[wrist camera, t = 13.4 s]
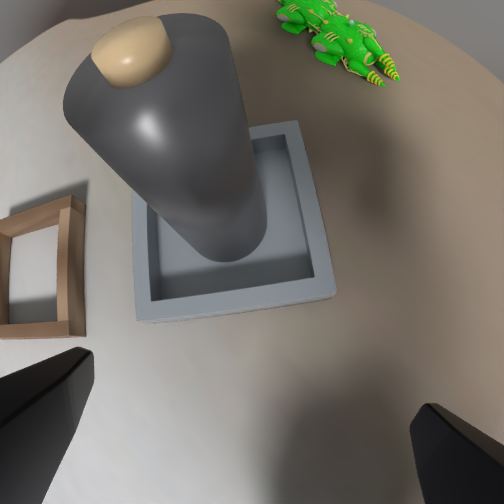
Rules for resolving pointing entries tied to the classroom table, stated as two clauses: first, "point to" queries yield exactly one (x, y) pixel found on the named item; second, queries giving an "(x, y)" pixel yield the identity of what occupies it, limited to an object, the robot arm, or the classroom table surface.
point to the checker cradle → (68, 268)
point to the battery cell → (174, 128)
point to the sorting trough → (252, 266)
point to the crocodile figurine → (337, 37)
